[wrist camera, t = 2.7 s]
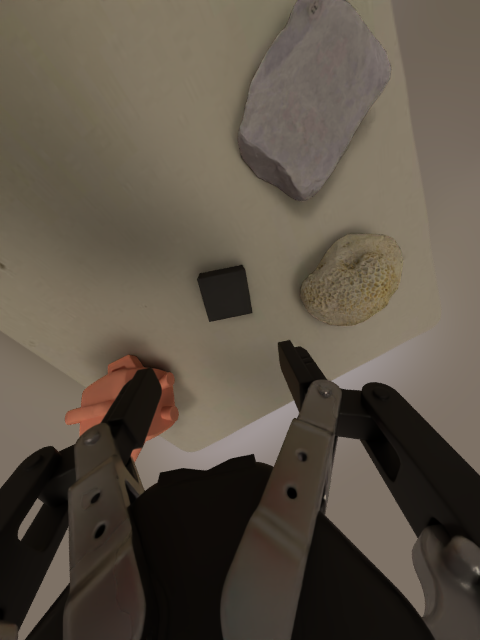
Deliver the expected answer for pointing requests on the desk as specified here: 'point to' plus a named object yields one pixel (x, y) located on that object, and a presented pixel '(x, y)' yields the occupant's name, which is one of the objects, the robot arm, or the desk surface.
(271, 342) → the desk surface
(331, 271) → the decorative item
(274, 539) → the robot arm
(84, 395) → the pink piece
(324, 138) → the stone block
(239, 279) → the small pad
